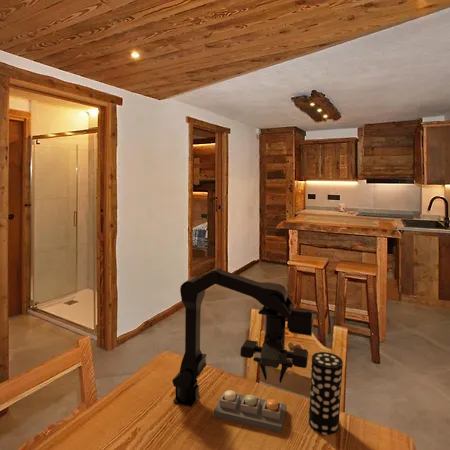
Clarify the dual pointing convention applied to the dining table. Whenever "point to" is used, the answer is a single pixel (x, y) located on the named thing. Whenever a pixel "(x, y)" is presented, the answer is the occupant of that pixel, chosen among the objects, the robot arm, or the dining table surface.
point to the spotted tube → (325, 392)
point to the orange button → (272, 405)
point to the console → (251, 413)
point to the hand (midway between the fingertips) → (273, 380)
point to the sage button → (250, 400)
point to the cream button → (230, 396)
